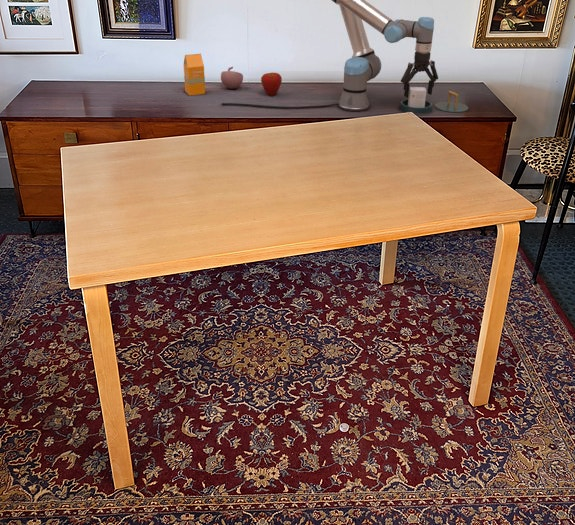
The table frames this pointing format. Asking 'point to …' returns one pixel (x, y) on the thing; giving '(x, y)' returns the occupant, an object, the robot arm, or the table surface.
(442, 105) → the tin lid
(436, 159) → the table surface
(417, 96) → the small box
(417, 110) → the tin
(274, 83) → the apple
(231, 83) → the decorative fruit
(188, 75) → the orange juice
